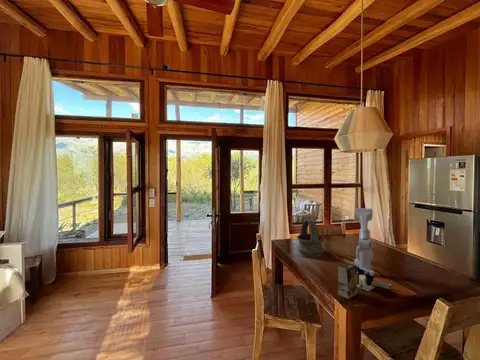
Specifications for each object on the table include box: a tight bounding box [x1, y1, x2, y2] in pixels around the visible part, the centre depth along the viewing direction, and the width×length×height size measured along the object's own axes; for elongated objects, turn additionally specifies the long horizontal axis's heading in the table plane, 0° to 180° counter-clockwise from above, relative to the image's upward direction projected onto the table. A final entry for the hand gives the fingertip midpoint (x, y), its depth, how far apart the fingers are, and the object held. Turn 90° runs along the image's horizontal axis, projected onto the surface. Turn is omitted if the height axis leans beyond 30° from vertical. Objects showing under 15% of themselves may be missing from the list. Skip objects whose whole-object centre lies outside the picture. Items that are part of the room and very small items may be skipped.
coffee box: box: [337, 262, 358, 300], centre depth 134 cm, size 9×6×16 cm
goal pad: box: [357, 284, 376, 292], centre depth 142 cm, size 7×7×1 cm
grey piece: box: [358, 280, 394, 291], centre depth 141 cm, size 6×19×3 cm, turn 87°
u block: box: [358, 275, 373, 290], centre depth 142 cm, size 4×5×6 cm
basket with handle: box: [296, 218, 325, 259], centre depth 201 cm, size 22×23×30 cm
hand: (365, 282), depth 142 cm, fingers open, 7 cm apart
